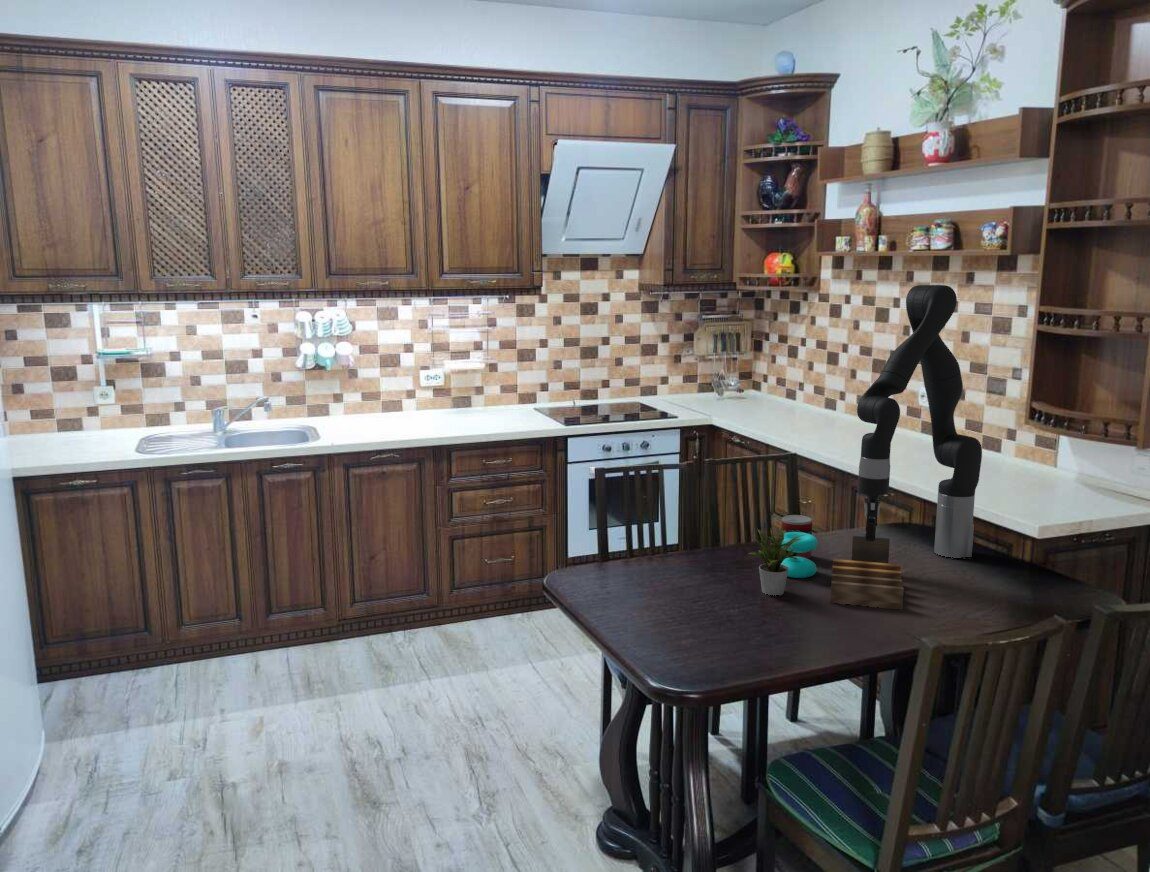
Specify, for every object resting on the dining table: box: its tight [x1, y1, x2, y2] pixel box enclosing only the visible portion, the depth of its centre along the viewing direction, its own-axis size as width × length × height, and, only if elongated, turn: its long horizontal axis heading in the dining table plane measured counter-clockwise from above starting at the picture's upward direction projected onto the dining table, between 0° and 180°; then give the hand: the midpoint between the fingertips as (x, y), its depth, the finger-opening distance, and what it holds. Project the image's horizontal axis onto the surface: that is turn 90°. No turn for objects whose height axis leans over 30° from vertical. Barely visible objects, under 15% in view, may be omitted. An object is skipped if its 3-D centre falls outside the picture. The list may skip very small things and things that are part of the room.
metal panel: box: [851, 533, 891, 563], centre depth 234 cm, size 9×2×10 cm, turn 73°
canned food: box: [780, 514, 813, 560], centre depth 247 cm, size 8×8×11 cm
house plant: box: [748, 526, 804, 597], centre depth 220 cm, size 14×14×16 cm
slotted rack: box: [830, 558, 905, 611], centre depth 220 cm, size 16×17×5 cm
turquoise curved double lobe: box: [780, 532, 818, 579], centre depth 235 cm, size 10×10×10 cm
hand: (870, 536), depth 233 cm, fingers open, 8 cm apart
